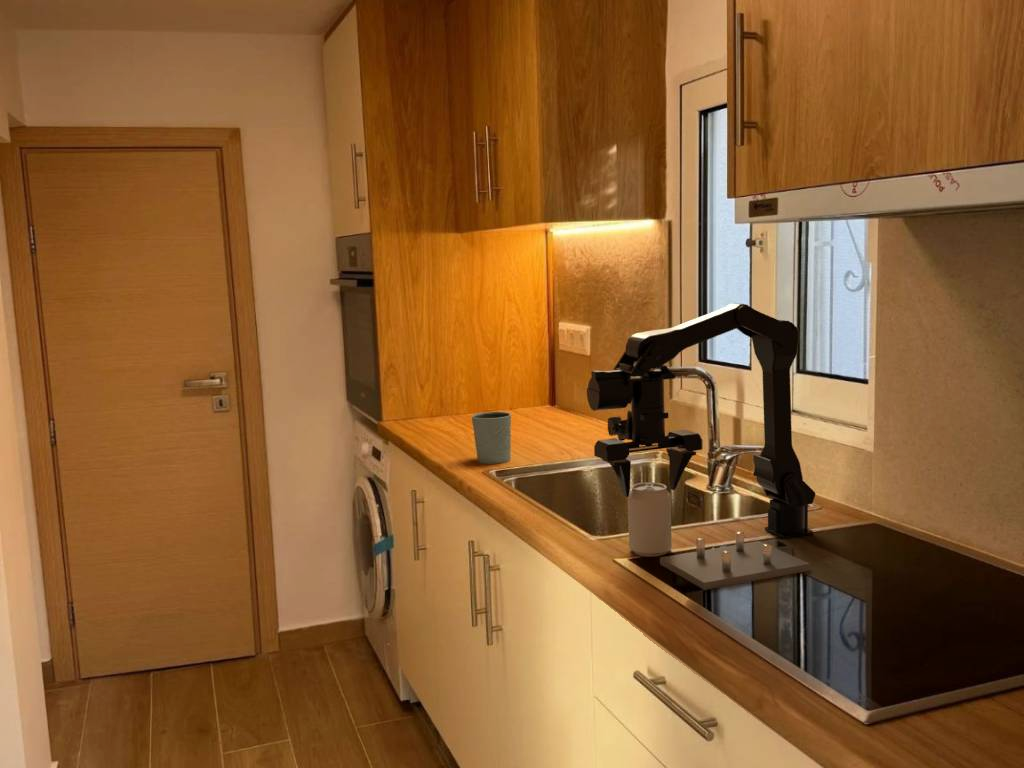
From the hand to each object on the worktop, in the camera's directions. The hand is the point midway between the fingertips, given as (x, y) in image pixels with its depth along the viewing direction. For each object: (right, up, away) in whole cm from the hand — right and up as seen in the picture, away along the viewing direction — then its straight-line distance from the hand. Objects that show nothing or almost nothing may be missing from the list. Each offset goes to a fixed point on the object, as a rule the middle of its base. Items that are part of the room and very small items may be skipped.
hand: (649, 493), depth 172 cm
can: (0, -11, +2) cm, 11 cm away
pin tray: (+13, -11, -9) cm, 19 cm away
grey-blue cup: (-29, -1, +81) cm, 86 cm away
